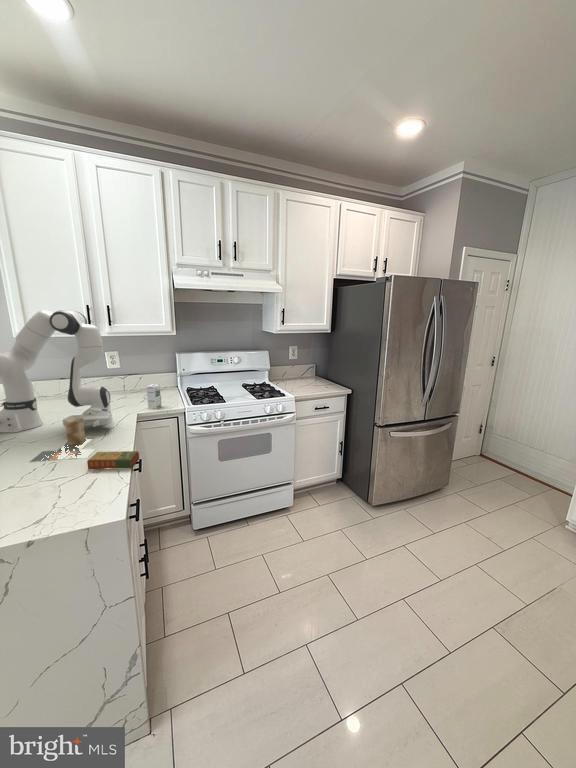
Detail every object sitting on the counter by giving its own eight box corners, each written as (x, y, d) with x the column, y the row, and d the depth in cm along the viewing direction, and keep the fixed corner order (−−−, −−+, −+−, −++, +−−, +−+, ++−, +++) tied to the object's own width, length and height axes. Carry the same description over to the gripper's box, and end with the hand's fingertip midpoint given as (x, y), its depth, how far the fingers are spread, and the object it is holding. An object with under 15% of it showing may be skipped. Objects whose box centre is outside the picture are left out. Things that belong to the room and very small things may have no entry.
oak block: (68, 445, 140) (65, 422, 138) (73, 441, 145) (70, 418, 142) (81, 445, 141) (77, 421, 139) (85, 440, 146) (82, 418, 143)
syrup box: (156, 409, 195) (154, 386, 192) (147, 408, 196) (145, 385, 193) (161, 406, 200) (160, 384, 197) (153, 406, 202) (151, 383, 198)
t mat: (29, 462, 125) (29, 461, 125) (57, 439, 147) (57, 439, 147) (87, 458, 129) (87, 457, 129) (107, 437, 151) (107, 436, 151)
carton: (98, 460, 128) (97, 450, 127) (139, 459, 129) (139, 450, 128) (87, 470, 120) (86, 460, 119) (131, 469, 121) (130, 459, 120)
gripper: (69, 411, 158) (55, 420, 145) (113, 409, 162) (104, 418, 149) (70, 423, 159) (57, 433, 146) (115, 421, 163) (105, 430, 150)
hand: (81, 425), depth 147 cm, fingers open, 8 cm apart
